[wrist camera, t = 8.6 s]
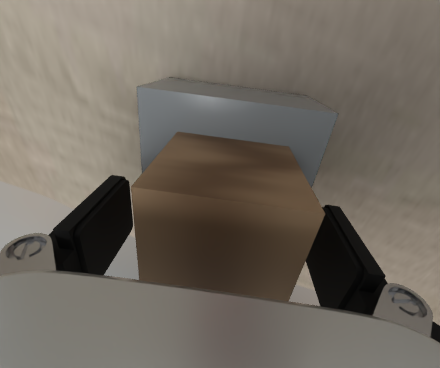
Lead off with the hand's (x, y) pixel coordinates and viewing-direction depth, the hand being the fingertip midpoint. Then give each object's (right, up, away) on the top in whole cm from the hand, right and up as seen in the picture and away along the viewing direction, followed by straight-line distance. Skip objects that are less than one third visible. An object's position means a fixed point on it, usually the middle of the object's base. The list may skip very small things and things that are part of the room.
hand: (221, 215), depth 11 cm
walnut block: (0, +1, +2) cm, 3 cm away
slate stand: (+1, +4, +8) cm, 9 cm away
